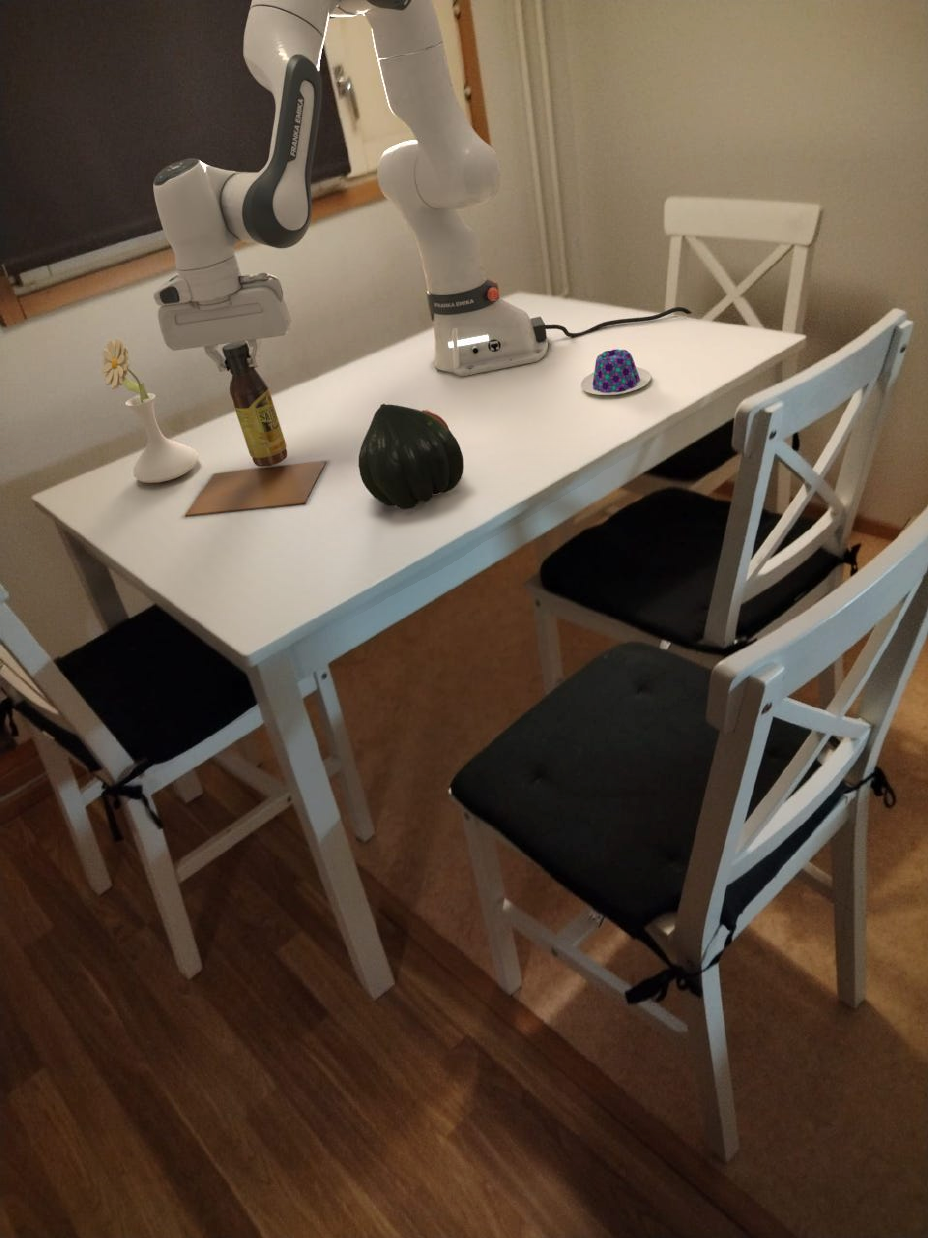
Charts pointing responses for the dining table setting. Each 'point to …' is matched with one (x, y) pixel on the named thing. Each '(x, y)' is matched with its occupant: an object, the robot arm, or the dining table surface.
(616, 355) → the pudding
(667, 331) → the dining table surface
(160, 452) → the flower in vase
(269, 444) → the sauce bottle
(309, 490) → the cork mat
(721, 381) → the dining table surface
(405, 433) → the squash
